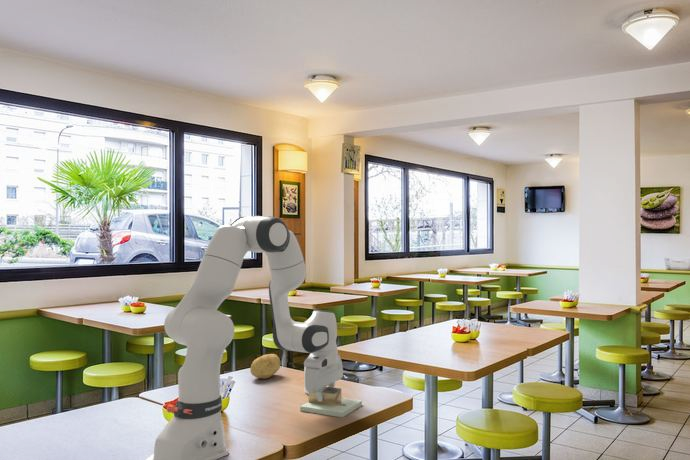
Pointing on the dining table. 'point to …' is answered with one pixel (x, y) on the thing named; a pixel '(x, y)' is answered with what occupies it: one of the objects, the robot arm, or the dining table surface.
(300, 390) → the dining table surface
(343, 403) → the board
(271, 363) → the potato
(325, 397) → the block
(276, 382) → the dining table surface
